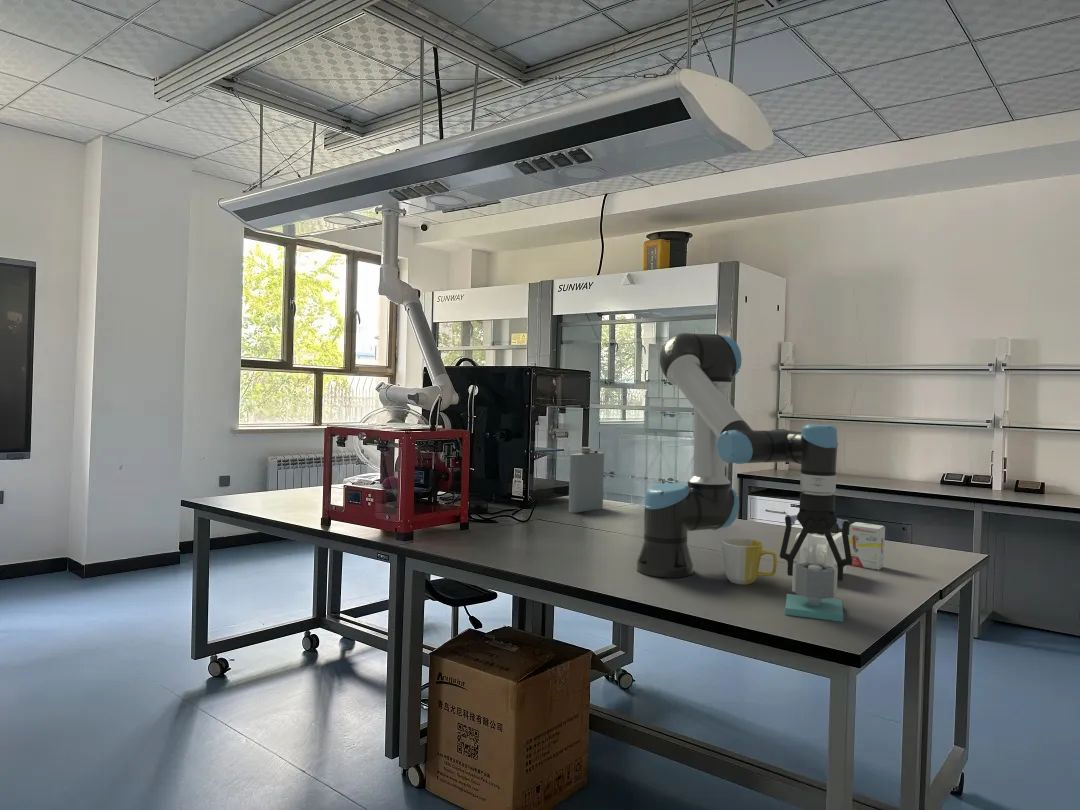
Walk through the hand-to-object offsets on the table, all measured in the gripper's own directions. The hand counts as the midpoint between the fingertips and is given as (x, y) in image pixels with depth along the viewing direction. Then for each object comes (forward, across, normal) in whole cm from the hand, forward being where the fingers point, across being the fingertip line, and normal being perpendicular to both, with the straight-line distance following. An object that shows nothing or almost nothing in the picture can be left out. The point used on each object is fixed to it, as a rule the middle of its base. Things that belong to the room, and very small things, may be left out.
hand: (814, 592), depth 169 cm
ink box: (+5, +14, +51) cm, 53 cm away
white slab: (+5, -85, +103) cm, 133 cm away
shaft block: (+4, 0, 0) cm, 4 cm away
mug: (+4, -16, +18) cm, 24 cm away
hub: (0, 0, 0) cm, 0 cm away
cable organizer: (+5, +2, +34) cm, 34 cm away
